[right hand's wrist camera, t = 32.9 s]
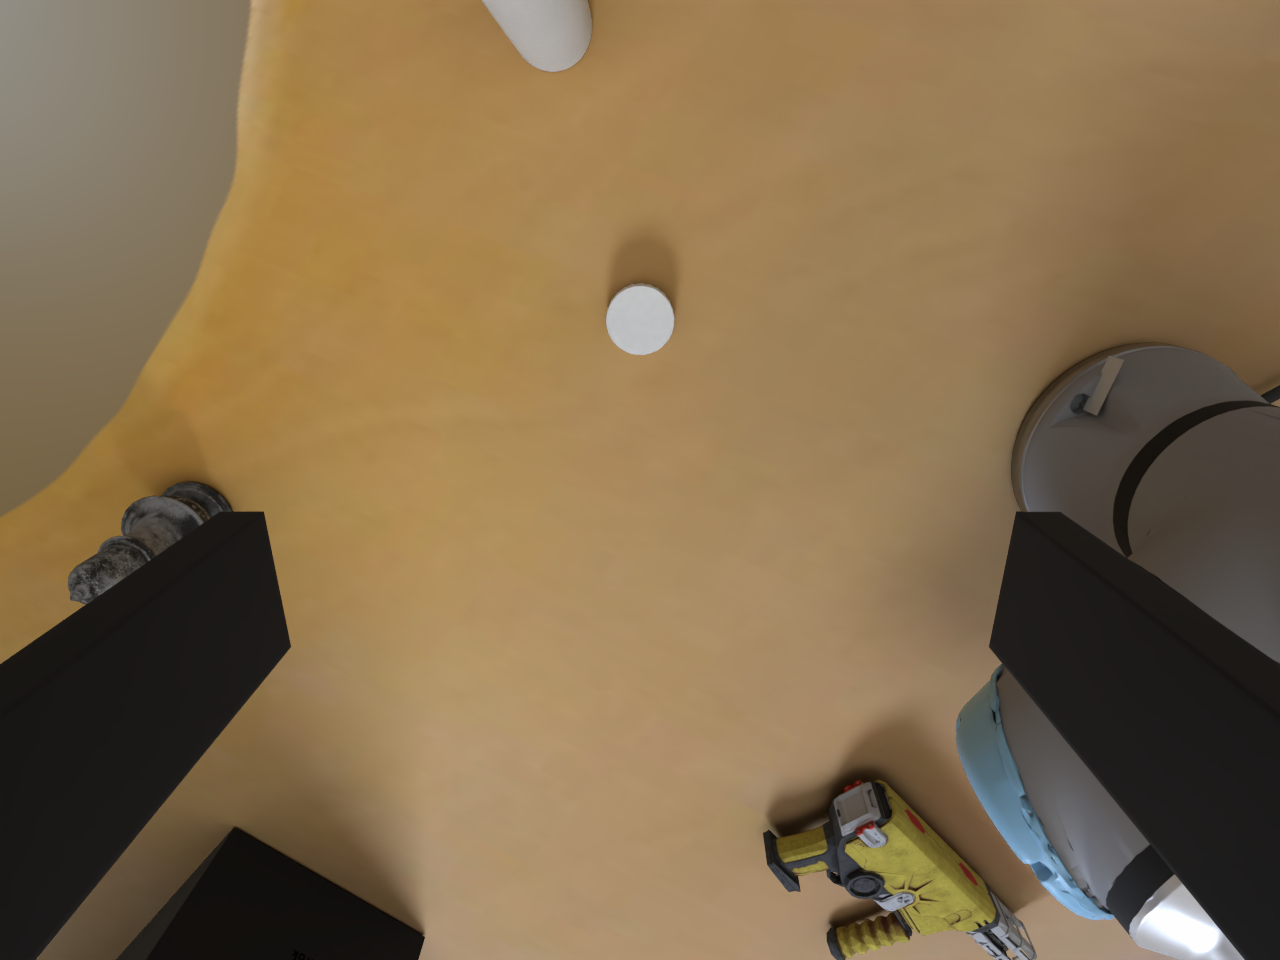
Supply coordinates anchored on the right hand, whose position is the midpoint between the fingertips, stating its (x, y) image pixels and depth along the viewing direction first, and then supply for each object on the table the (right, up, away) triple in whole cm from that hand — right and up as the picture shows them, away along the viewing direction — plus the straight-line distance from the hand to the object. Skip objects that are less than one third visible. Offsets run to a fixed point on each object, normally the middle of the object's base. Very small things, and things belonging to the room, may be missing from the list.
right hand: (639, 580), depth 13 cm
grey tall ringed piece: (-32, -1, +39) cm, 50 cm away
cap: (0, +12, +32) cm, 34 cm away
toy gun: (+22, -34, +51) cm, 65 cm away
